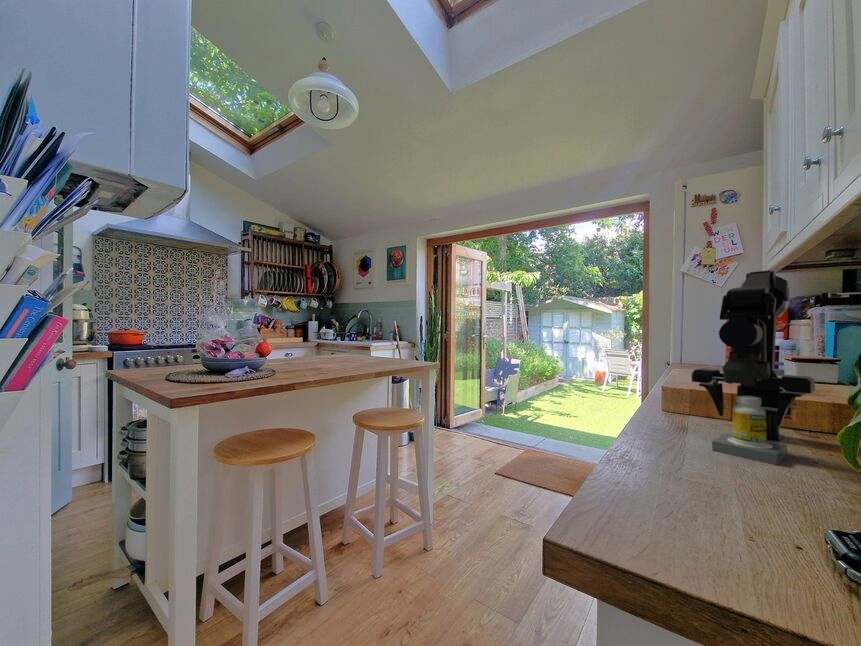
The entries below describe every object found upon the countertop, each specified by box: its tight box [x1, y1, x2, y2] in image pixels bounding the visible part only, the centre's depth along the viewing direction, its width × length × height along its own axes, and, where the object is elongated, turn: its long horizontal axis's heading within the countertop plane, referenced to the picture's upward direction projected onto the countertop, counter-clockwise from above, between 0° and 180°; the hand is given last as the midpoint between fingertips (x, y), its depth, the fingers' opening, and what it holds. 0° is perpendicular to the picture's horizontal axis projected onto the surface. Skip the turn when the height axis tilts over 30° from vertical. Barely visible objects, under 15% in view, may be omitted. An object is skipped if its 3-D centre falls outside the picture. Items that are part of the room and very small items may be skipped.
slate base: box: [711, 432, 788, 466], centre depth 74 cm, size 10×10×2 cm
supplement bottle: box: [731, 395, 767, 446], centre depth 74 cm, size 5×5×10 cm
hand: (748, 420), depth 74 cm, fingers open, 9 cm apart
